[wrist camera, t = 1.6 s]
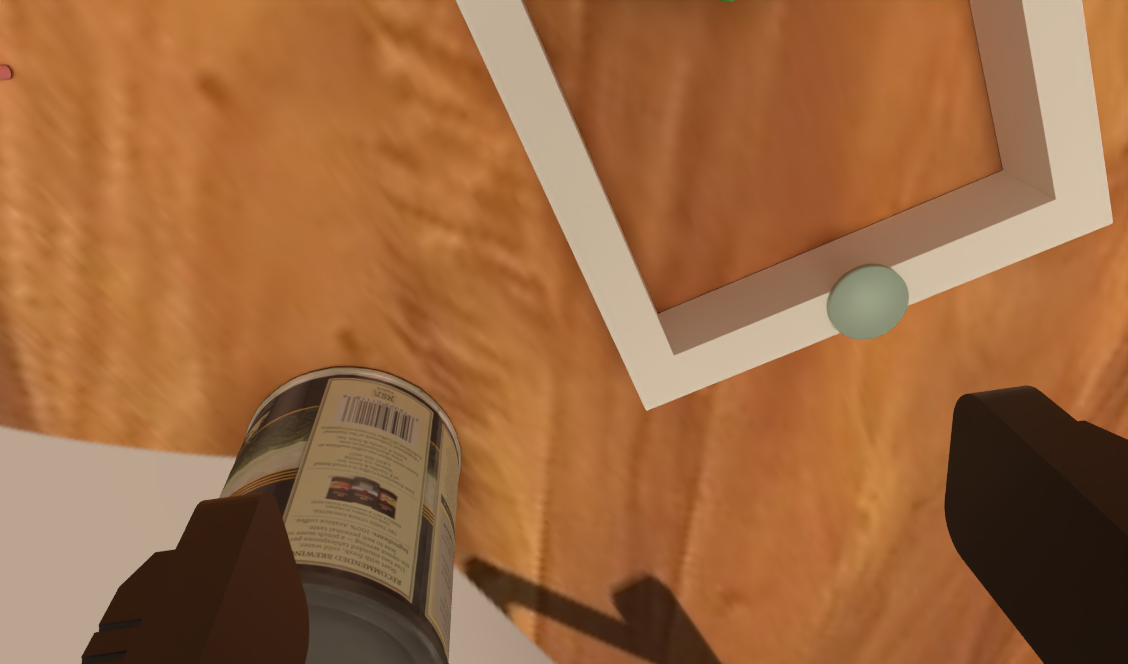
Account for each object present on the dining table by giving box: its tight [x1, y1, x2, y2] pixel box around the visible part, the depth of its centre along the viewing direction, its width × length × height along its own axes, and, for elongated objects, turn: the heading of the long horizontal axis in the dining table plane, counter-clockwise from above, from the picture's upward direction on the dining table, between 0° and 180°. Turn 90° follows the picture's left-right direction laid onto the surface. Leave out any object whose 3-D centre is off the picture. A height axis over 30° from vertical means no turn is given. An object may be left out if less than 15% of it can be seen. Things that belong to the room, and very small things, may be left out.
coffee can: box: [220, 367, 461, 664], centre depth 36 cm, size 10×10×14 cm
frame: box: [456, 0, 1113, 411], centre depth 34 cm, size 20×19×4 cm
